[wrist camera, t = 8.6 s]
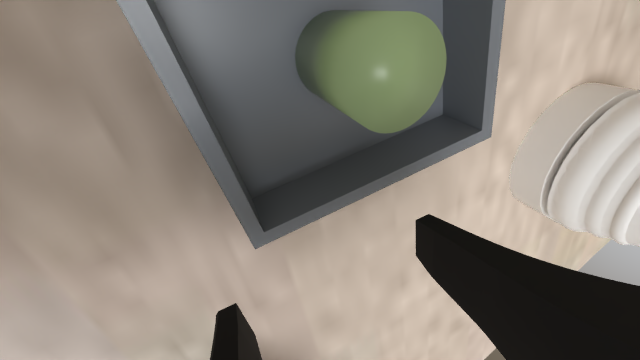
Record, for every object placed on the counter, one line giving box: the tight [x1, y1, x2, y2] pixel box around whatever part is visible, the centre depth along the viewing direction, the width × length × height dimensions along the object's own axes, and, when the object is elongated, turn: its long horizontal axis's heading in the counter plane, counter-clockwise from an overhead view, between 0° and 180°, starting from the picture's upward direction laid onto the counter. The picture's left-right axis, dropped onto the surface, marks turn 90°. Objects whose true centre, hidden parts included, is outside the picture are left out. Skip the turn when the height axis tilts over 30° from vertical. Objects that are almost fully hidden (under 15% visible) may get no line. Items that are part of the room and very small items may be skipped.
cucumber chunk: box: [295, 10, 446, 133], centre depth 14 cm, size 4×4×6 cm
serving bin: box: [116, 0, 506, 249], centre depth 15 cm, size 16×14×4 cm
